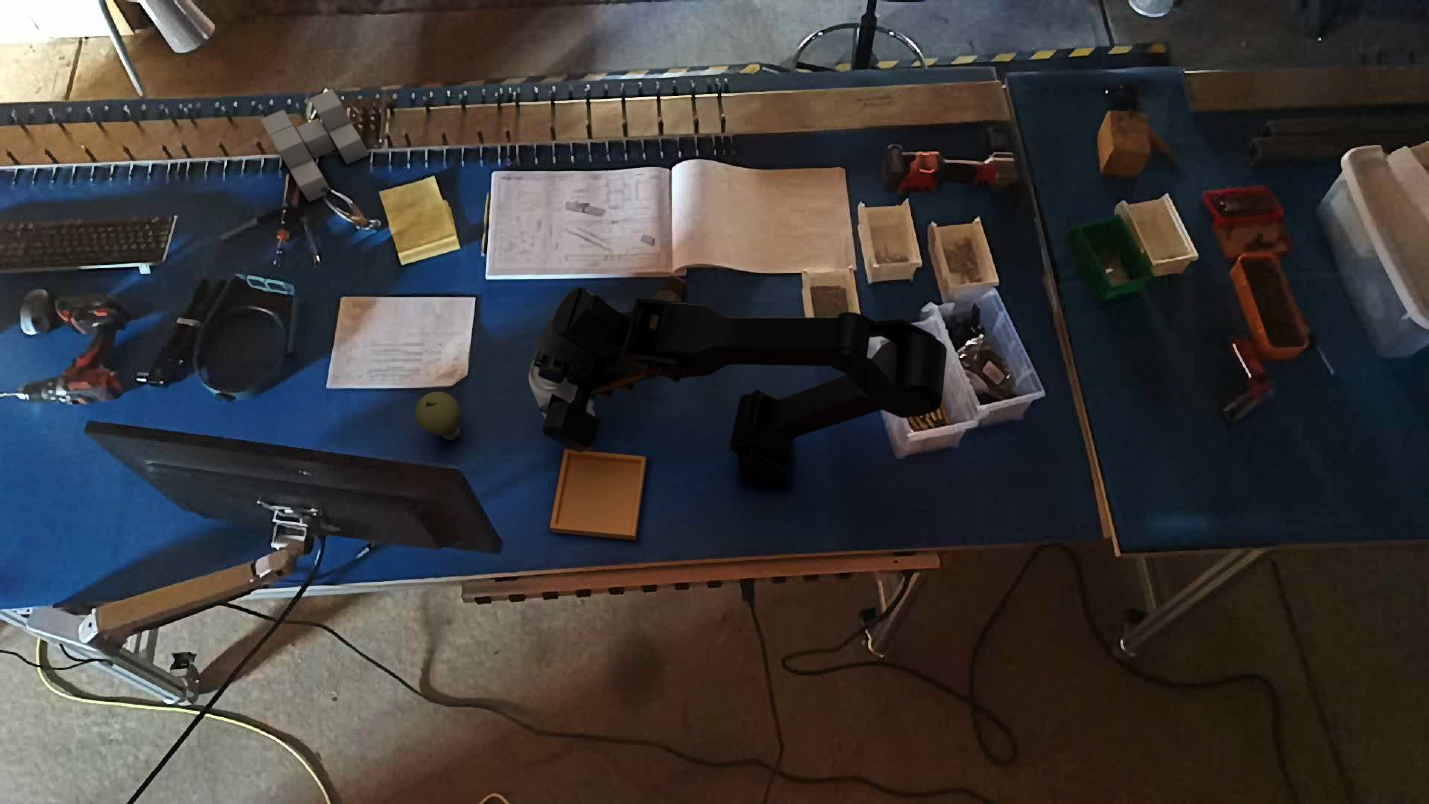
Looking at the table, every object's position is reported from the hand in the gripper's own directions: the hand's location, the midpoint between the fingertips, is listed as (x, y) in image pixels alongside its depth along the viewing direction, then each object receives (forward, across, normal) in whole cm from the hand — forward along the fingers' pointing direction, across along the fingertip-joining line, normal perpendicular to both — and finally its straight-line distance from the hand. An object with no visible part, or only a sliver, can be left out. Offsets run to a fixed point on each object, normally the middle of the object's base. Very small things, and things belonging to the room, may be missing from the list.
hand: (549, 387), depth 110 cm
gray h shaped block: (+43, -38, -28) cm, 64 cm away
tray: (+3, +9, +14) cm, 17 cm away
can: (+4, 0, +6) cm, 7 cm away
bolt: (+1, -18, +15) cm, 24 cm away
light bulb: (+19, +5, -2) cm, 19 cm away
